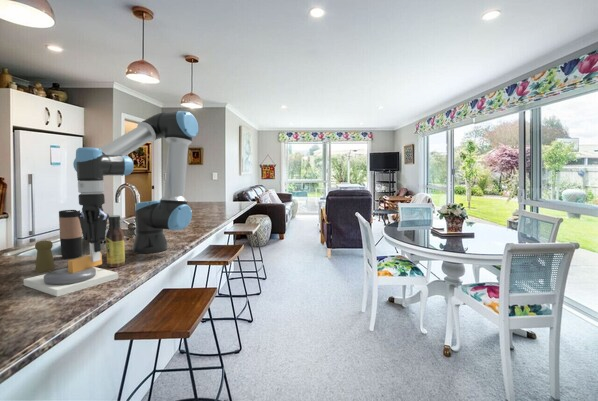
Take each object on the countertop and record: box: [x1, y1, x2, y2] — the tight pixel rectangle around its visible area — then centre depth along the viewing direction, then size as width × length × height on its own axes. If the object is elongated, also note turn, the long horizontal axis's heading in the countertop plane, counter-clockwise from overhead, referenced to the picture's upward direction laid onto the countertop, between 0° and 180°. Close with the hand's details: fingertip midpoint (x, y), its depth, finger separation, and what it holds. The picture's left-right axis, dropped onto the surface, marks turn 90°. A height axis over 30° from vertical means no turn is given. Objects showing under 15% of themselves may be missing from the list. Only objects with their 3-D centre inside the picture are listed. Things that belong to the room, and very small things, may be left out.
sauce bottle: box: [105, 214, 126, 268], centre depth 127 cm, size 6×6×20 cm
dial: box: [43, 252, 103, 285], centre depth 109 cm, size 18×14×6 cm
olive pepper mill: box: [34, 239, 56, 273], centre depth 122 cm, size 6×6×11 cm
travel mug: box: [58, 209, 83, 260], centre depth 140 cm, size 8×8×20 cm
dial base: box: [23, 266, 119, 297], centre depth 110 cm, size 19×20×2 cm
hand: (95, 260), depth 114 cm, fingers closed
